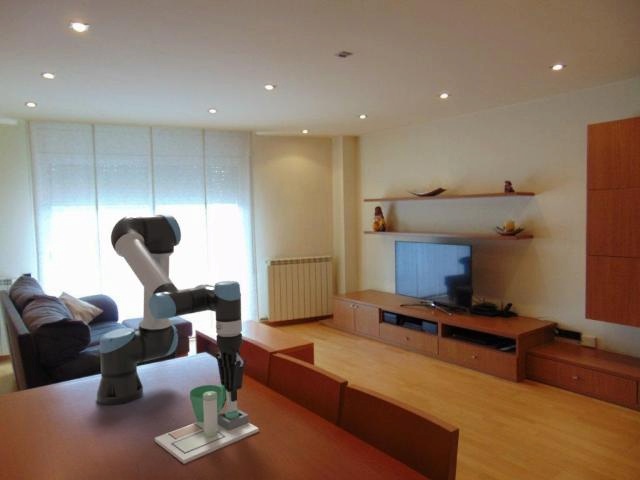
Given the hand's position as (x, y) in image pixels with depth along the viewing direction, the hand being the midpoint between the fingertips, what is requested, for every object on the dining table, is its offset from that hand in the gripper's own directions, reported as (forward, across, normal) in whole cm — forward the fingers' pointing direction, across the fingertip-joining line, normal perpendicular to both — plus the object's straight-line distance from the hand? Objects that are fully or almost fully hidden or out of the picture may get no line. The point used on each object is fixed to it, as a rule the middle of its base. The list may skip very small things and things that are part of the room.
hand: (232, 410), depth 140 cm
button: (+3, 0, 0) cm, 3 cm away
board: (+5, 0, -8) cm, 10 cm away
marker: (+4, +2, -8) cm, 10 cm away
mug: (+6, -10, -1) cm, 11 cm away
